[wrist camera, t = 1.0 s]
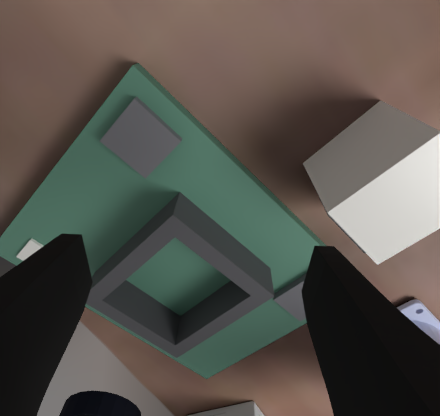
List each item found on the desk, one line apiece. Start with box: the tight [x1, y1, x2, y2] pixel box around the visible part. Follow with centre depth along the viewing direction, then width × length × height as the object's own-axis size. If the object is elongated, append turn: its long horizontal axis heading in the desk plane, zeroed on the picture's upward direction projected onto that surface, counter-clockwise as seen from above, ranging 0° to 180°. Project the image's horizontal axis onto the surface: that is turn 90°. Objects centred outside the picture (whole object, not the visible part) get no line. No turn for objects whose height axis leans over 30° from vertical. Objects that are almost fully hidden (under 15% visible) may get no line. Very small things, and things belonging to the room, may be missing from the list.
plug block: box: [303, 100, 440, 265], centre depth 15 cm, size 4×5×6 cm
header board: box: [0, 63, 326, 379], centre depth 20 cm, size 20×16×4 cm
